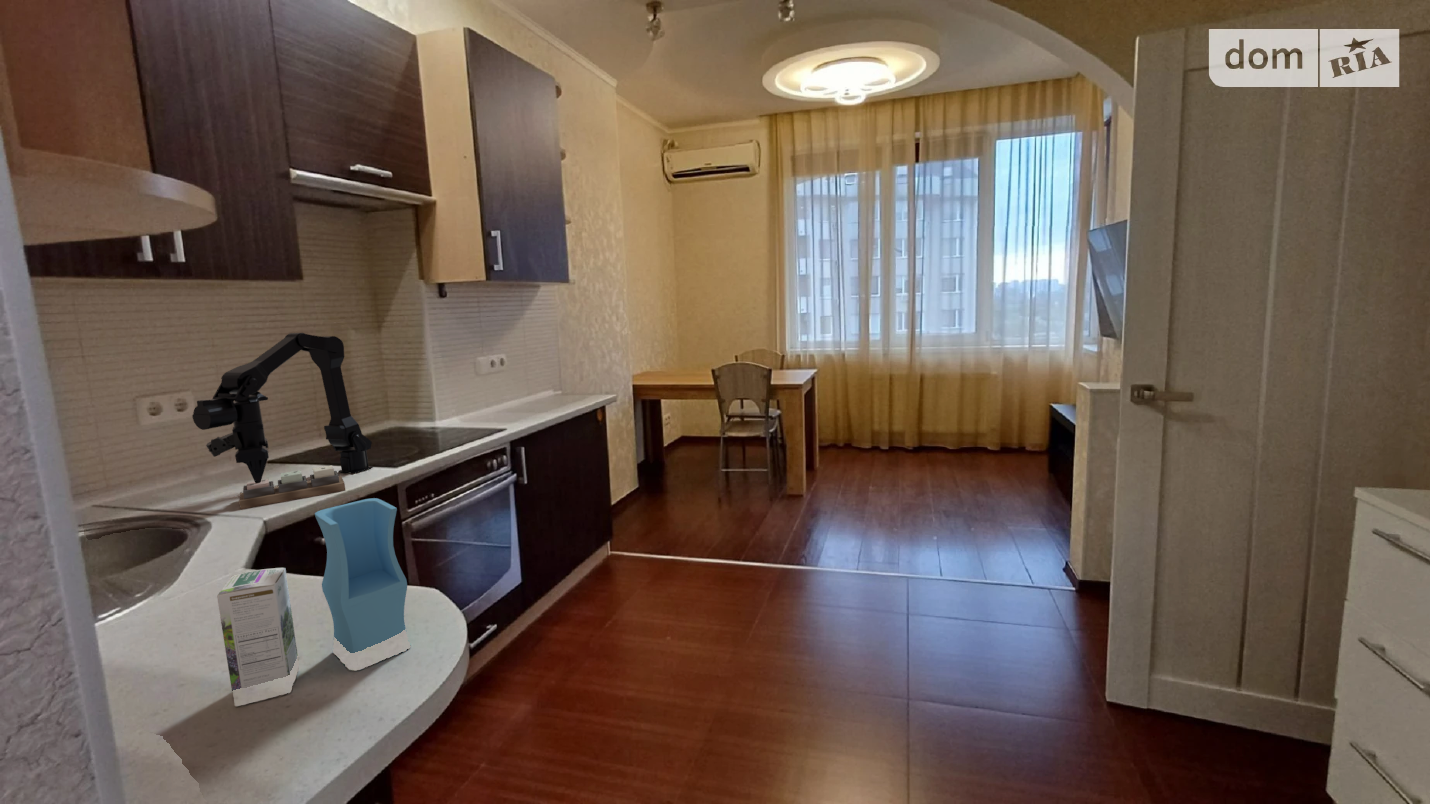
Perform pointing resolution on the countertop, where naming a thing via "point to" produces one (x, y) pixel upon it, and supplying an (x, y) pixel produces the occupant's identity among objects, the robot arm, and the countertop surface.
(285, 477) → the tile two
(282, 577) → the syrup box
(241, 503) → the digit board
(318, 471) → the tile one
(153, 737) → the countertop surface
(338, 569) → the blue tall chair-shaped block
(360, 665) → the countertop surface
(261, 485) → the tile three
